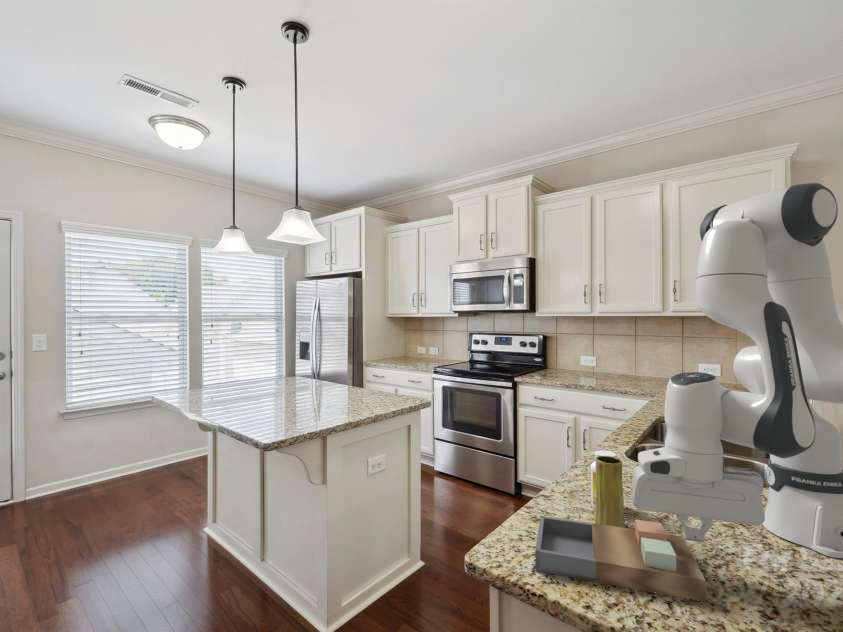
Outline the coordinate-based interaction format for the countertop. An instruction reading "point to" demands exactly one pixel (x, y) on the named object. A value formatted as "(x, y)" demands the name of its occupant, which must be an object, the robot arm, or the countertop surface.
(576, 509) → the countertop surface
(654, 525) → the tile terracotta
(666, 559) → the tile sage
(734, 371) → the robot arm
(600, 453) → the supplement bottle
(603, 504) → the vase
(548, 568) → the tray
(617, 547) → the board
